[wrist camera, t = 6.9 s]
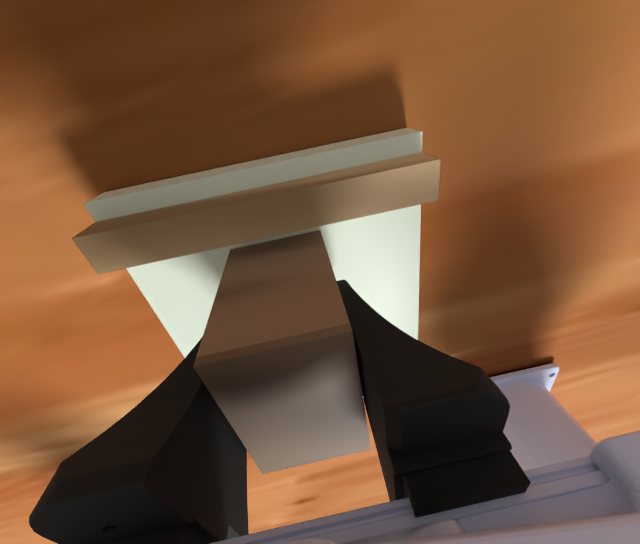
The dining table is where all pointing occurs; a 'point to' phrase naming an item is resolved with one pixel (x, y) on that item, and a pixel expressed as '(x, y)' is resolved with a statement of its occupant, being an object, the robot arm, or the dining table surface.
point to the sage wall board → (340, 238)
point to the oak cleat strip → (260, 212)
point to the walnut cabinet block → (284, 355)
